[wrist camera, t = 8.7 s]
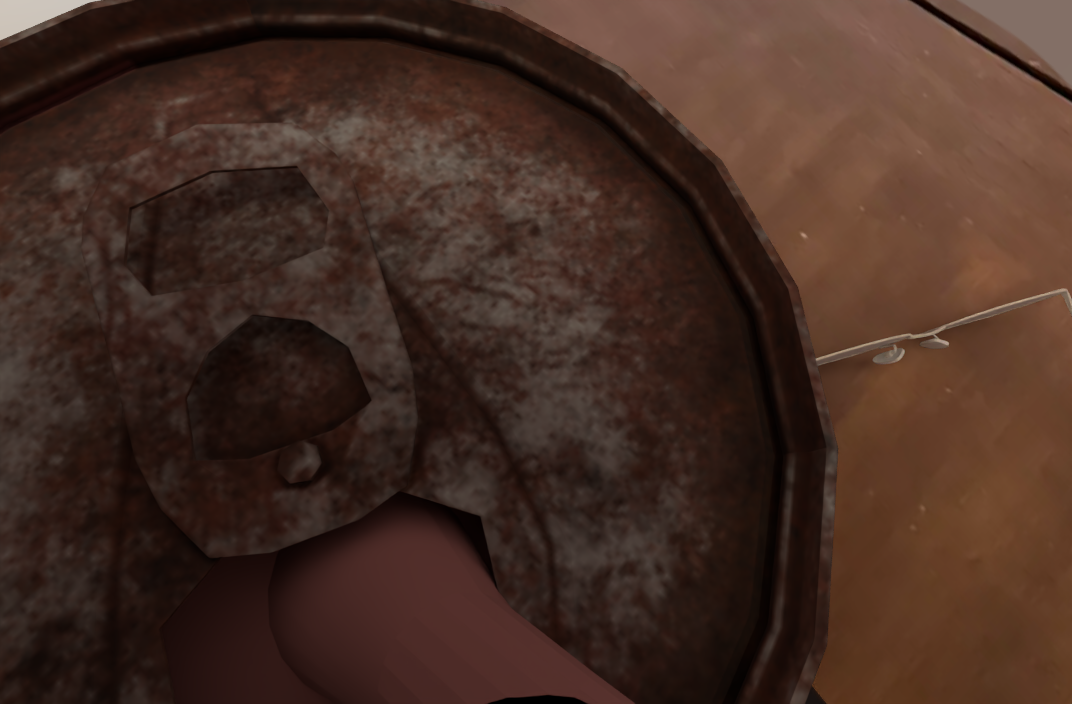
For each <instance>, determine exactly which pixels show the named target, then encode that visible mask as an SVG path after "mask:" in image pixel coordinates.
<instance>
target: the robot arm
mask: <svg viewBox="0 0 1072 704" xmlns="http://www.w3.org/2000/svg"><path fill="white" fill-rule="evenodd" d="M805 704H826V702H825V701H824V700H823V699H822V698H821V696H820V695H819V694H818V693H817V692H816V690H815V689H814V688H813V687H812V686H811V689H810V692H809V694H808V697H807V700H806V702H805Z"/></svg>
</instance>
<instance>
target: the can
mask: <svg viewBox="0 0 1072 704" xmlns="http://www.w3.org/2000/svg"><path fill="white" fill-rule="evenodd" d="M837 460H838V446H837V442H836V438H835V434H834V430H833V426H832V422H831V418H830V414H829V410H828V406H827V402H826V398H825V394H824V390H823V386H822V382H821V378H820V374H819V370H818V366H817V362H816V358H815V354H814V350H813V346H812V342H811V338H810V334H809V330H808V326H807V322H806V318H805V314H804V310H803V306H802V302H801V298H800V294H799V290H798V287H797V285H796V283H795V282H794V280H793V278H792V277H791V275H790V273H789V272H788V270H787V268H786V267H785V265H784V263H783V262H782V260H781V258H780V257H779V255H778V253H777V252H776V250H775V248H774V247H773V245H772V243H771V242H770V240H769V238H768V237H767V235H766V233H765V232H764V230H763V228H762V227H761V225H760V223H759V222H758V220H757V218H756V217H755V215H754V213H753V212H752V210H751V208H750V207H749V205H748V203H747V202H746V200H745V198H744V197H743V195H742V193H741V192H740V190H739V188H738V187H737V185H736V183H735V182H734V180H733V178H732V177H731V175H730V173H729V172H728V170H727V168H726V167H725V165H724V163H723V162H722V160H721V159H720V158H718V157H717V156H716V155H715V154H714V153H713V152H712V151H711V150H710V149H709V148H708V147H707V146H706V145H704V144H703V143H702V142H701V141H700V140H699V139H698V138H697V137H696V136H695V135H694V134H693V133H691V132H690V131H689V130H688V129H687V128H686V127H685V126H684V125H683V124H682V123H681V122H680V121H679V120H677V119H676V118H675V117H674V116H673V115H672V114H671V113H670V112H669V111H668V110H667V109H666V108H664V107H663V106H662V105H661V104H660V103H659V102H658V101H657V100H656V99H655V98H654V97H653V96H652V95H650V94H649V93H648V92H647V91H646V90H645V89H644V88H643V87H642V86H641V85H640V84H639V83H637V82H636V81H635V80H634V79H633V78H632V77H631V76H630V75H629V74H628V73H627V72H626V71H625V70H623V69H622V68H621V67H619V66H617V65H615V64H613V63H611V62H609V61H607V60H605V59H603V58H601V57H600V56H598V55H596V54H594V53H592V52H590V51H588V50H586V49H584V48H582V47H580V46H579V45H577V44H575V43H573V42H571V41H569V40H567V39H565V38H563V37H561V36H560V35H558V34H556V33H554V32H552V31H550V30H548V29H546V28H544V27H542V26H540V25H539V24H537V23H535V22H533V21H531V20H529V19H527V18H525V17H523V16H521V15H519V14H518V13H516V12H514V11H512V10H510V9H508V8H506V7H503V6H499V5H495V4H490V3H486V2H482V1H478V0H101V1H95V2H90V3H87V4H85V5H83V6H80V7H78V8H76V9H73V10H71V11H68V12H66V13H64V14H61V15H59V16H57V17H55V18H52V19H50V20H47V21H45V22H43V23H40V24H38V25H36V26H33V27H31V28H29V29H26V30H24V31H21V32H19V33H17V34H14V35H12V36H10V37H7V38H5V39H3V40H0V704H805V702H806V700H807V697H808V694H809V692H810V689H811V686H812V684H813V681H814V678H815V676H816V673H817V671H818V668H819V665H820V663H821V660H822V657H823V655H824V652H825V649H826V647H827V637H828V619H829V602H830V584H831V566H832V549H833V531H834V513H835V495H836V478H837Z"/></svg>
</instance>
